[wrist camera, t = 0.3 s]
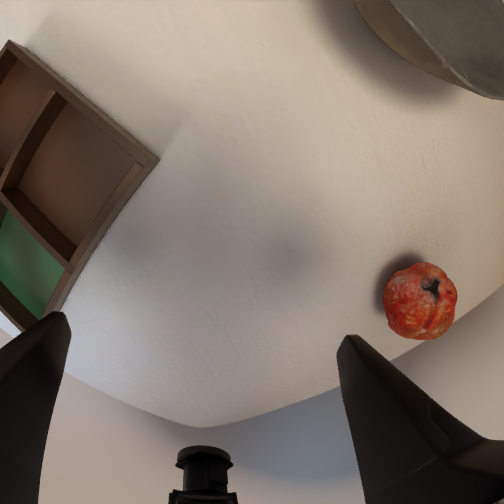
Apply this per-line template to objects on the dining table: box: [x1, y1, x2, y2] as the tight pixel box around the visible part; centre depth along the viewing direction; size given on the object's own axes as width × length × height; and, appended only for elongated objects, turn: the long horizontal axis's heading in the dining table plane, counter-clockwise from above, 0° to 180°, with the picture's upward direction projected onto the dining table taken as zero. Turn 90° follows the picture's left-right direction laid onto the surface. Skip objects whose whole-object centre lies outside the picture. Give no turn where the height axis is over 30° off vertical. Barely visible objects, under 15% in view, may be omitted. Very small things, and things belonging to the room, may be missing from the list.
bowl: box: [355, 0, 504, 100], centre depth 13 cm, size 19×19×10 cm
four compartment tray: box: [0, 40, 160, 332], centre depth 17 cm, size 20×20×3 cm
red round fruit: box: [383, 263, 457, 340], centre depth 22 cm, size 7×7×10 cm
